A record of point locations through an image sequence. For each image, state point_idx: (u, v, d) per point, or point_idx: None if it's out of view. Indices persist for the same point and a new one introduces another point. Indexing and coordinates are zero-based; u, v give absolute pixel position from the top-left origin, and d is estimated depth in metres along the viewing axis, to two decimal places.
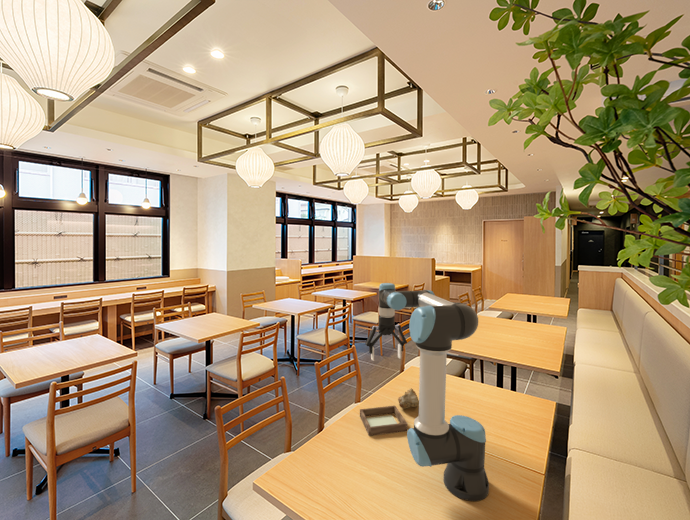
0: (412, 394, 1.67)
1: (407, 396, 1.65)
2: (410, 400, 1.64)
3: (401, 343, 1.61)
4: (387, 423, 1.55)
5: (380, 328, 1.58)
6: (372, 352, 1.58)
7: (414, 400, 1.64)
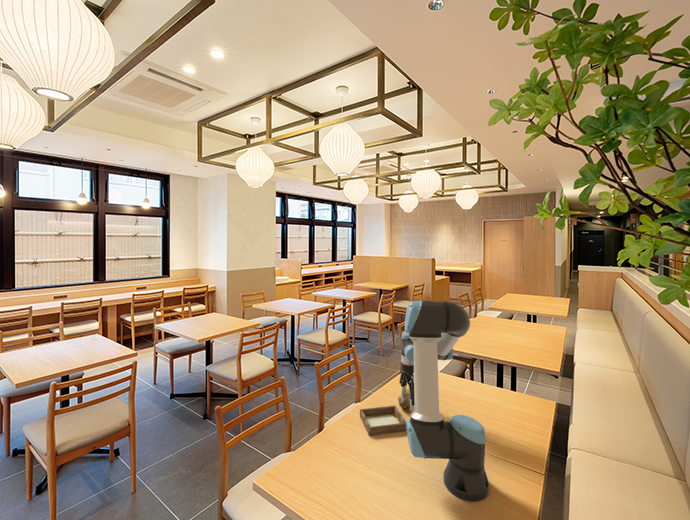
0: None
1: (407, 395, 1.66)
2: None
3: (411, 396, 1.63)
4: (387, 423, 1.55)
5: None
6: None
7: None
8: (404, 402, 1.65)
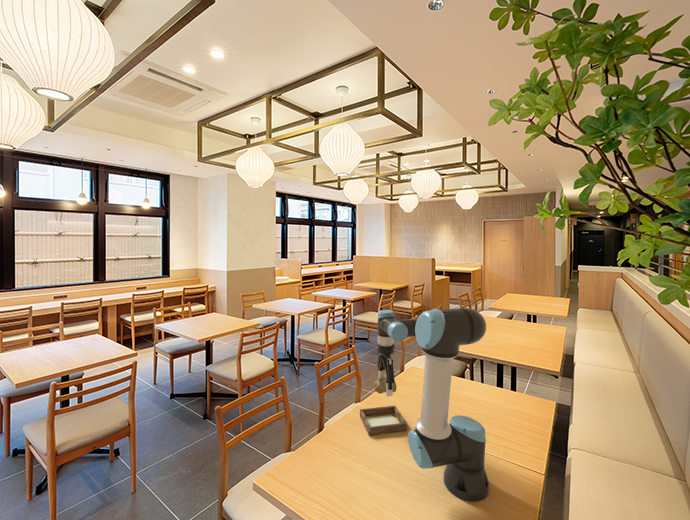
0: None
1: (383, 379, 1.51)
2: None
3: (387, 380, 1.48)
4: (387, 423, 1.55)
5: (381, 353, 1.57)
6: None
7: None
8: (380, 386, 1.50)
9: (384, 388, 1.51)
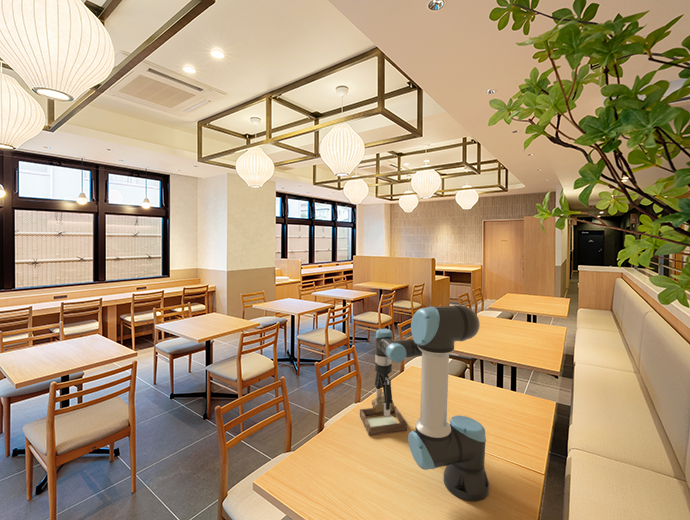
0: None
1: (381, 399, 1.51)
2: None
3: (385, 400, 1.48)
4: (387, 423, 1.55)
5: None
6: None
7: None
8: (378, 406, 1.50)
9: (382, 407, 1.51)
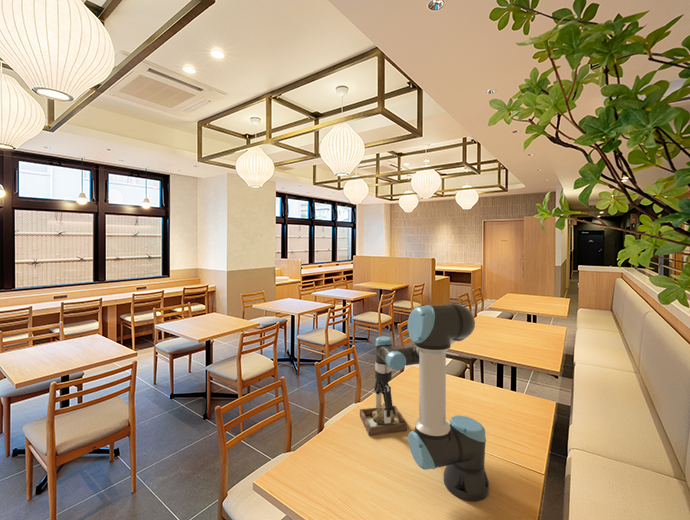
0: None
1: (381, 410, 1.51)
2: (384, 415, 1.50)
3: (385, 407, 1.47)
4: (387, 423, 1.55)
5: None
6: None
7: None
8: (378, 418, 1.50)
9: (382, 419, 1.51)
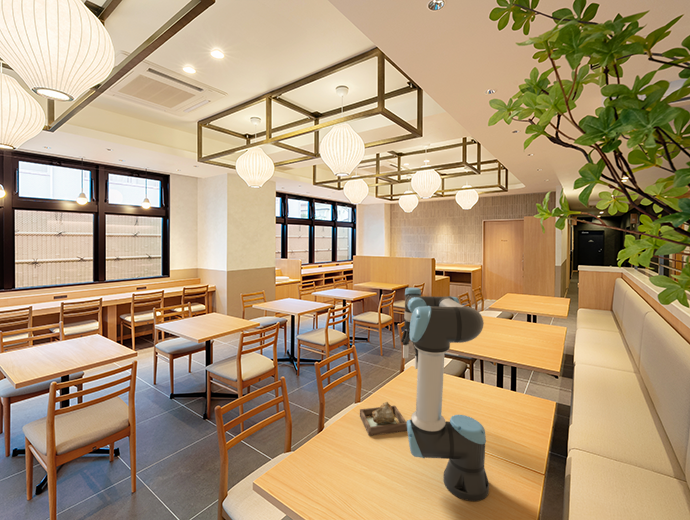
0: (387, 408, 1.53)
1: (381, 410, 1.51)
2: (384, 415, 1.50)
3: (416, 353, 1.54)
4: (387, 423, 1.55)
5: (407, 329, 1.64)
6: None
7: (389, 415, 1.50)
8: (378, 418, 1.50)
9: (382, 419, 1.51)
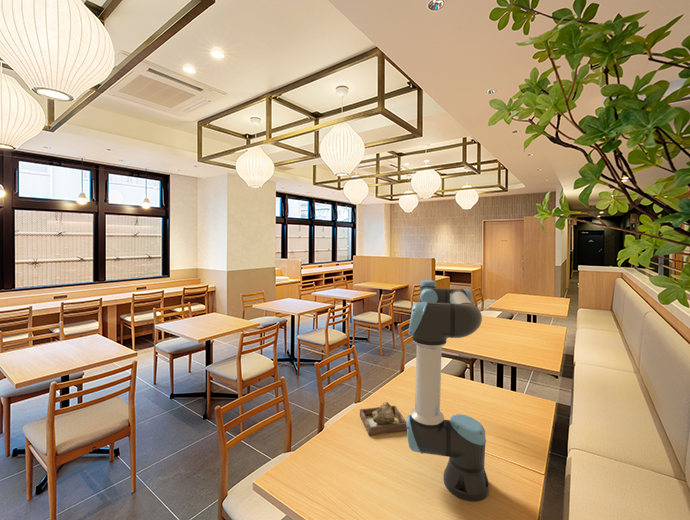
0: (387, 408, 1.53)
1: (381, 410, 1.51)
2: (384, 415, 1.50)
3: None
4: (387, 423, 1.55)
5: None
6: None
7: (389, 415, 1.50)
8: (378, 418, 1.50)
9: (382, 419, 1.51)
